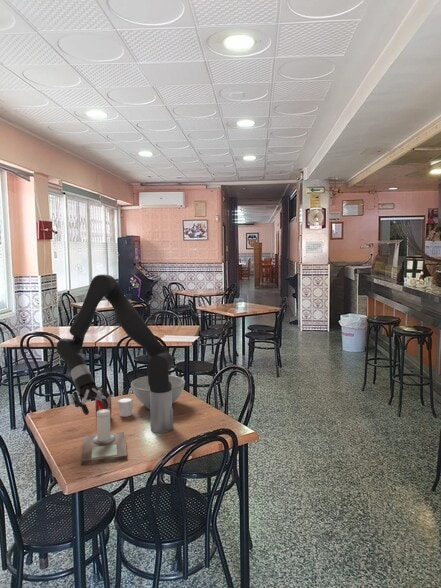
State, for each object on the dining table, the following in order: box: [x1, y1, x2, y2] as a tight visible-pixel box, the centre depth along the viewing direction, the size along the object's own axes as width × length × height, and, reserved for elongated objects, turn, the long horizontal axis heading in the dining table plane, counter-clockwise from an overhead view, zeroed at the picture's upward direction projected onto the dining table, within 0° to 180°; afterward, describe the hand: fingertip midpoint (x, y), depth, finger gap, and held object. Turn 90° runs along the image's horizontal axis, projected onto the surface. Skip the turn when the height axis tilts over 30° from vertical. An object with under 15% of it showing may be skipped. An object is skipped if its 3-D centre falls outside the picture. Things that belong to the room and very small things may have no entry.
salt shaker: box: [96, 409, 111, 441], centre depth 169 cm, size 5×5×11 cm
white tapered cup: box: [117, 397, 134, 418], centre depth 201 cm, size 7×7×7 cm
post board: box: [80, 431, 128, 466], centre depth 164 cm, size 16×22×9 cm
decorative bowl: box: [130, 374, 186, 410], centre depth 213 cm, size 27×27×12 cm
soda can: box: [94, 390, 112, 419], centre depth 196 cm, size 7×7×12 cm
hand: (97, 411), depth 172 cm, fingers open, 8 cm apart
